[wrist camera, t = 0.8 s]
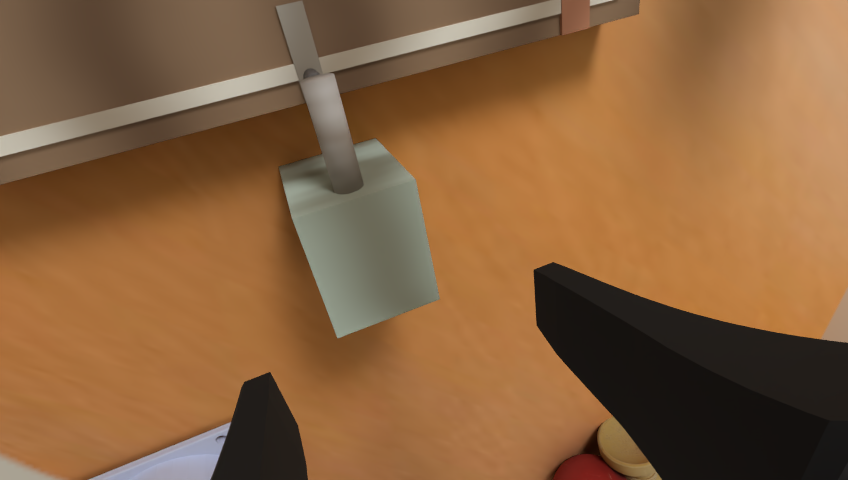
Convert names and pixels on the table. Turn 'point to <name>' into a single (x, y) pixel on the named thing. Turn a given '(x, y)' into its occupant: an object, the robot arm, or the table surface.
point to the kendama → (609, 459)
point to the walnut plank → (226, 61)
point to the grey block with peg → (357, 220)
